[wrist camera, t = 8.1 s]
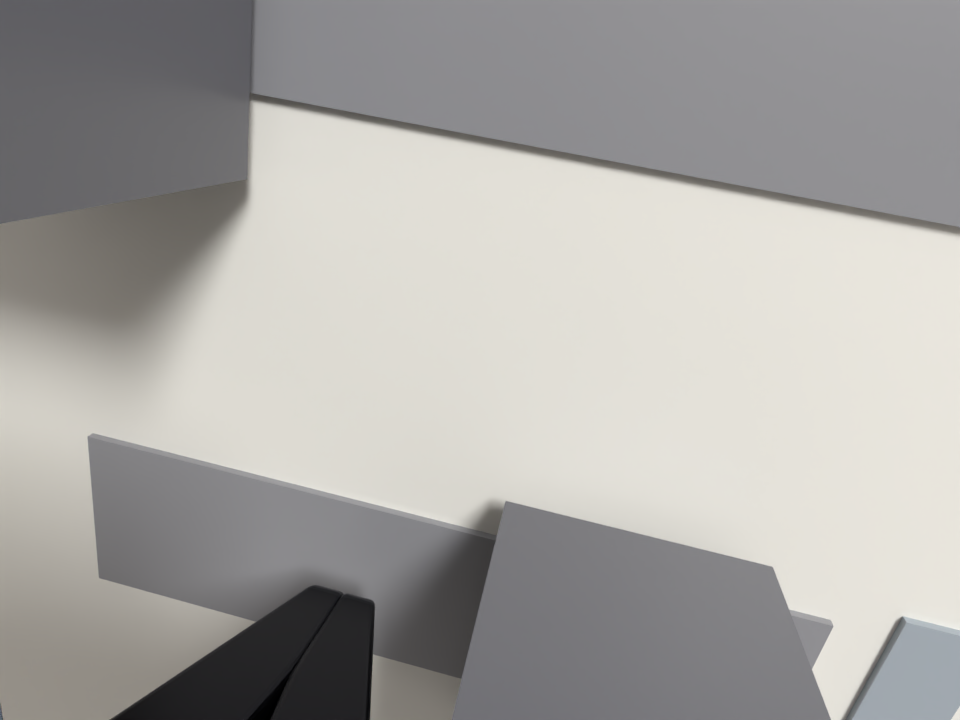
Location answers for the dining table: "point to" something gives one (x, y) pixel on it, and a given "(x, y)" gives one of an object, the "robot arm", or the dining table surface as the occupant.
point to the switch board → (504, 342)
